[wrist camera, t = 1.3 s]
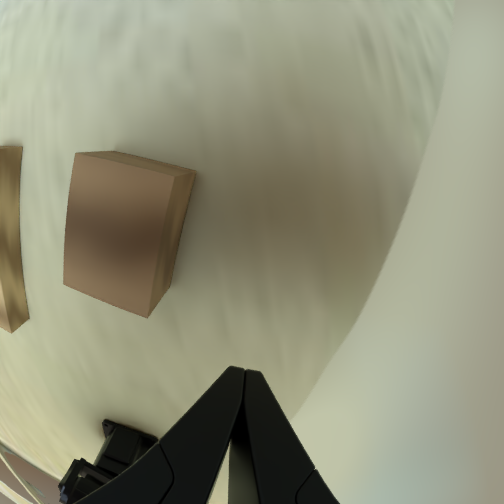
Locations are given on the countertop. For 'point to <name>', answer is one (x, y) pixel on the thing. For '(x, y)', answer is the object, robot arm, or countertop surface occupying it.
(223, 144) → the countertop surface
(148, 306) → the block
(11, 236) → the tan rectangular bar
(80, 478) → the robot arm
